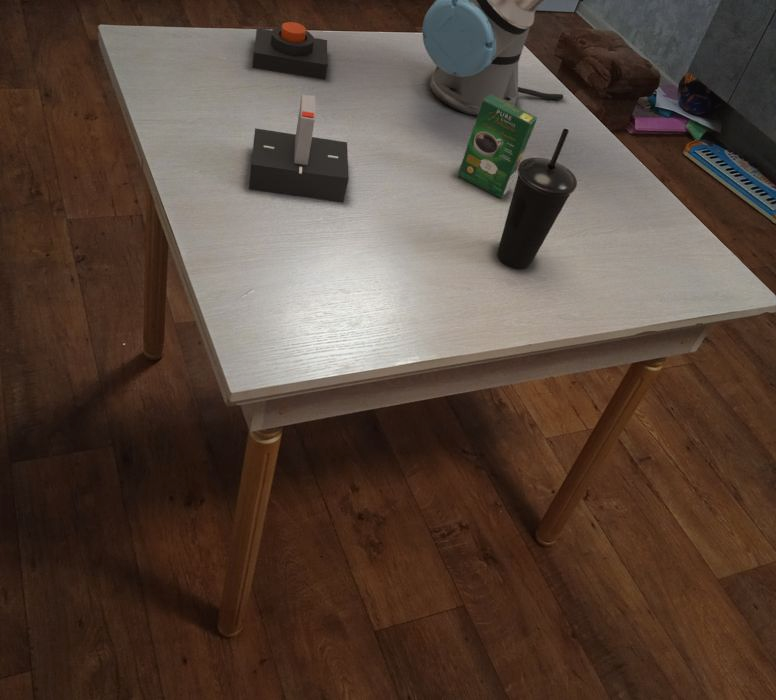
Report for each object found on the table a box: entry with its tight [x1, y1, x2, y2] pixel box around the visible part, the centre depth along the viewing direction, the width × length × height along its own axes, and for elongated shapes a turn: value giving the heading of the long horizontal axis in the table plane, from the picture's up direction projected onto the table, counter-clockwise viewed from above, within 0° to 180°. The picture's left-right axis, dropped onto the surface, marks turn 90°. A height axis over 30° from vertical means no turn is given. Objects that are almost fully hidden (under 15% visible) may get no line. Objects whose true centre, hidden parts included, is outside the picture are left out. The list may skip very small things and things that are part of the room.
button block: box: [251, 25, 329, 80], centre depth 138 cm, size 12×9×4 cm
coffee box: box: [457, 94, 538, 199], centre depth 120 cm, size 8×3×13 cm, turn 58°
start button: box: [281, 21, 307, 43], centre depth 136 cm, size 4×4×2 cm
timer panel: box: [248, 127, 350, 203], centre depth 114 cm, size 13×10×4 cm
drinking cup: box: [496, 128, 578, 270], centre depth 106 cm, size 8×8×20 cm
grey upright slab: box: [294, 94, 316, 165], centre depth 111 cm, size 6×2×7 cm, turn 3°
